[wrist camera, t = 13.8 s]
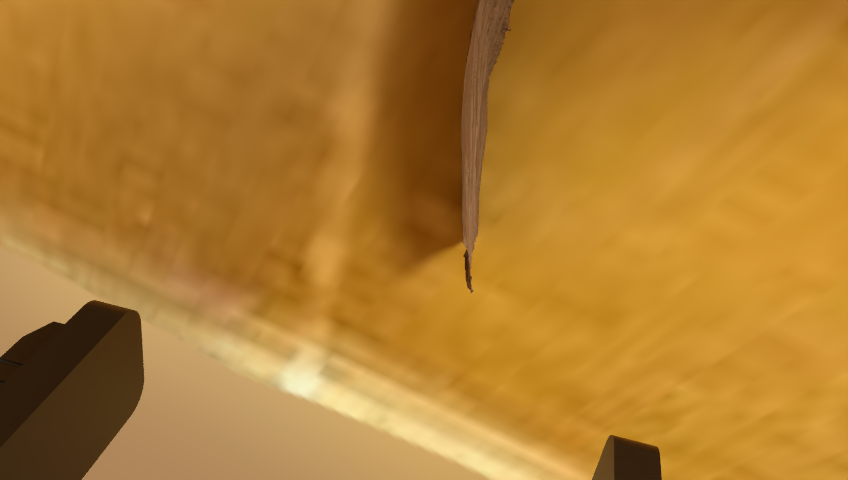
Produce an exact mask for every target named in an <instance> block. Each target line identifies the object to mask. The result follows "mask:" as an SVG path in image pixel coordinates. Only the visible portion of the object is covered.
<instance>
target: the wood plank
mask: <svg viewBox="0 0 848 480" xmlns="http://www.w3.org/2000/svg"><path fill="white" fill-rule="evenodd" d="M513 1H514V0H477V2H476V6H475V10H474V17H473V27H472V32H471V36H470V44H469V50H468V56H467V62H466V68H465V75H464V89H463V103H462V119H461V152H462V187H463V194H462V224H463V244H464V245H465V247H466V248H467V250H466V252H465V254H464V257H465V270H466V282H467V287H468V288H469V289H470V290H471V293H472V292H473V289H472V287H471V279H472V277H471V276H470V269H471V260H472V252H473V249H474V242H476V241H475V239H476V237H477V234H478V213H479V190H480V181H481V170H482V160H483V155H484V148H485V140H486V132H487V92H488V83H489V76H490V74H491V71H492V70H493V66H494V64H495V63H496V62H497V61H496V60H497V58H498V56H499V53H500V51H501V47H502V44H503V39H504V38H505V32H506V31H507V30H509V31H511V29H510V27H509V15H510V10H511V7H512V6H511V5H512V3H513Z"/></svg>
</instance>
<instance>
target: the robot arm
mask: <svg viewBox="0 0 848 480" xmlns="http://www.w3.org/2000/svg"><path fill="white" fill-rule="evenodd" d="M143 385H144V368H143V350H142V333H141V319H140V315H139V314H138V312H137V311H135V310H131V309H127V308H123V307H119V306H115V305H111V304H108V303H104V302H100V301H96V300H94V301H90V302H88V303H87V304H85V305H84V306H83V307H82V308H81V309H80V310H79V311H78V312H77V313H76V314H75V315H74V316H73V317H72V318H71V319H70V320H69V321H68V322H67V323H66V324H61V323H57V322H52V323H50V324H48V325H46V326H44V327H42V328H40V329H38V330H36V331H34V332H32V333H30V334H27V335H25V336H24V337H22V338H21V339H20V340H19V341H18V342H17V343H15V344H14V345H13V346H12V347H11V348H10V349H9V350H8V351H7V352H6V353H5V354H4V355H2V356H1V357H0V480H82V478H83V477H84V476H85V474H86V473H87V472H88V471H89V469H90V468H91V467H92V465H93V464H94V463H95V461H96V460H97V459H98V457H99V456H100V455H101V454H102V452H103V451H104V450H105V449H106V447H107V446H108V445H109V443H110V442H111V441H112V439H113V438H114V437H115V436H116V434H117V433H118V431H119V430H120V429H121V428H122V427H123V425H124V424H125V423H126V421H127V420H128V419H129V417H130V416H131V415H132V413H133V412H134V410H135V408H136V406H137V404H138V402H139V400H140V396H141V394H142V390H143ZM592 480H662V478H661V464H660V453H659V449H658V447H656V446H652V445H649V444H645V443H641V442H637V441H633V440H629V439H625V438H621V437H617V436H614V435H610V436H609V438H608V440H607V442H606V444H605V447H604V449H603V452H602V455H601V457H600V460H599V463H598V465H597V468H596V470H595V473H594V476H593V478H592Z"/></svg>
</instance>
